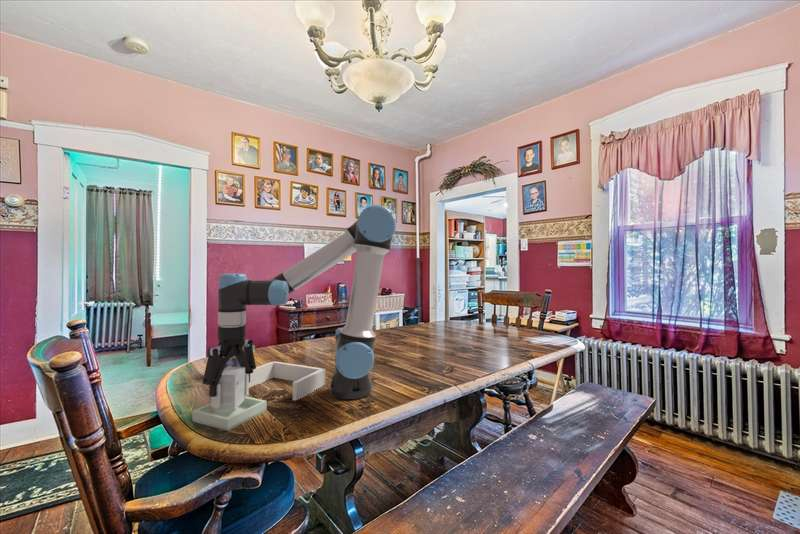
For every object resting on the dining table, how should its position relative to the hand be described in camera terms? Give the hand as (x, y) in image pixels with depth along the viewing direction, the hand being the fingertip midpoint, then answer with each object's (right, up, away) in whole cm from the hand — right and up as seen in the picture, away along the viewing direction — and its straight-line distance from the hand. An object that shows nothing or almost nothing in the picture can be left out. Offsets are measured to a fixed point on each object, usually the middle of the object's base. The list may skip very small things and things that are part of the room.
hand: (230, 400), depth 99 cm
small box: (0, -2, 0) cm, 2 cm away
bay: (+8, -5, +24) cm, 25 cm away
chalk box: (-16, -5, +38) cm, 41 cm away
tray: (0, -5, 0) cm, 5 cm away
